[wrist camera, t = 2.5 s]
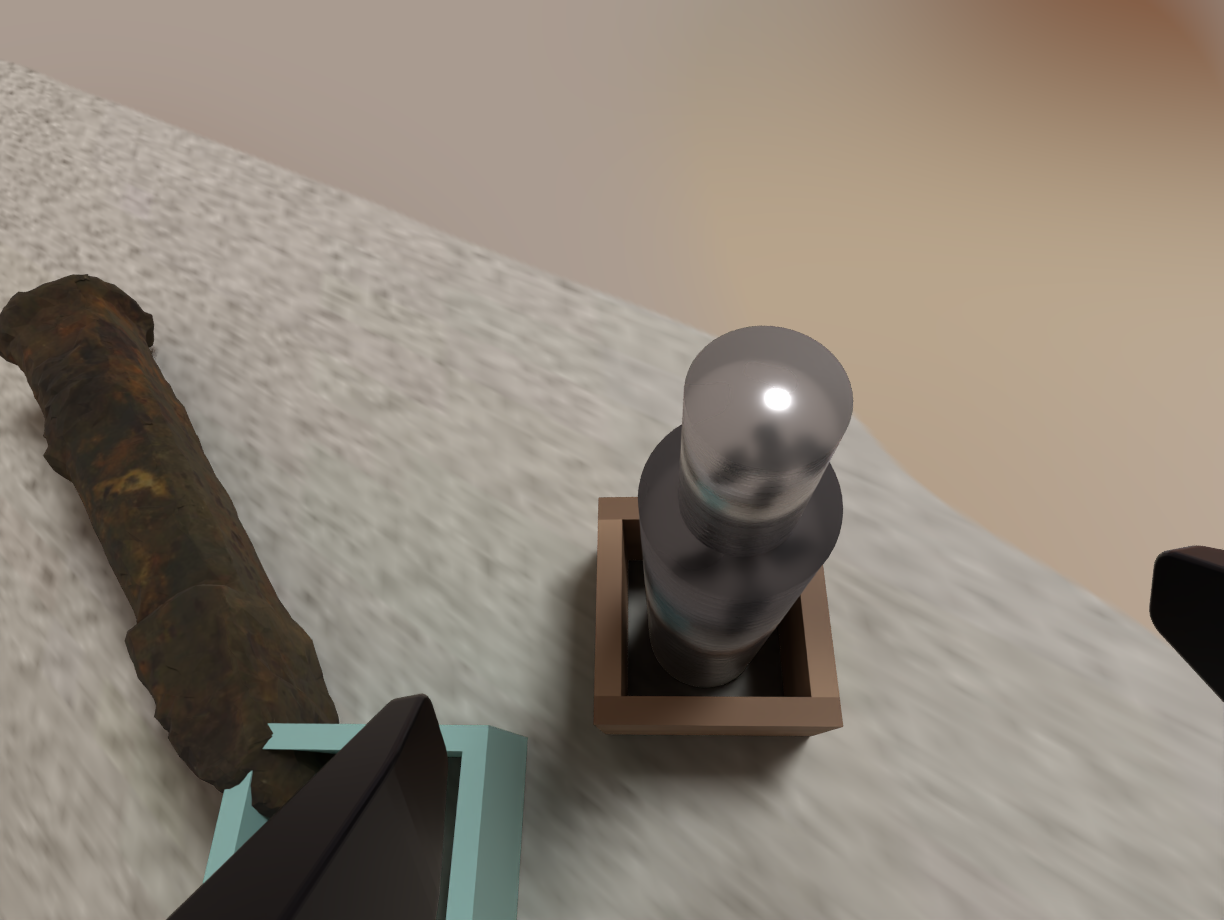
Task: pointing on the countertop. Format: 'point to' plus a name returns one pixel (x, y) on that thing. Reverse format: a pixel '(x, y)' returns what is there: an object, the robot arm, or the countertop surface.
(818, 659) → the socket block
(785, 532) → the stepped grey cylinder
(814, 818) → the countertop surface
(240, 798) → the hollow teal block
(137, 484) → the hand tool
